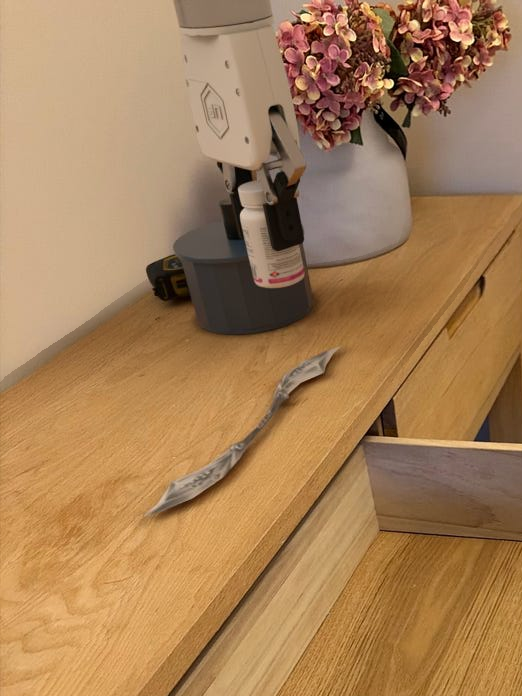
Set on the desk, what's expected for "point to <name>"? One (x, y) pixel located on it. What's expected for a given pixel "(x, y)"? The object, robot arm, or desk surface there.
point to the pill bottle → (266, 243)
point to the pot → (244, 298)
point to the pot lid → (214, 241)
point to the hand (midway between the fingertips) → (271, 238)
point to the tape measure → (168, 278)
